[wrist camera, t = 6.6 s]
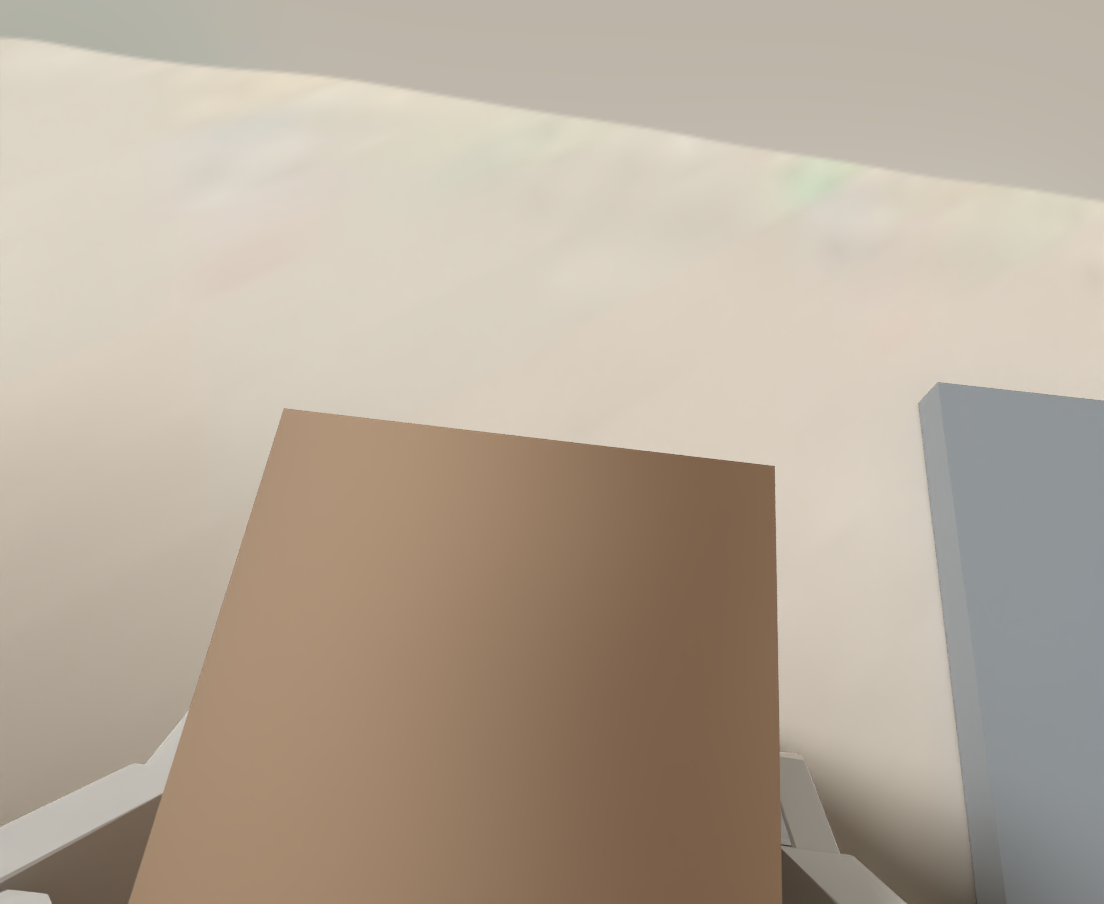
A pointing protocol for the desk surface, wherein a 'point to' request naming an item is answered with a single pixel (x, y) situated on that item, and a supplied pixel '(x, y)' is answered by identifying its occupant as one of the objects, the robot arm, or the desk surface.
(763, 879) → the block
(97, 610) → the desk surface
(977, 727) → the stand
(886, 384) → the desk surface
